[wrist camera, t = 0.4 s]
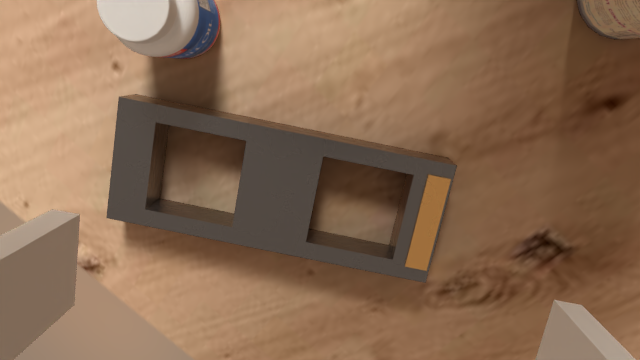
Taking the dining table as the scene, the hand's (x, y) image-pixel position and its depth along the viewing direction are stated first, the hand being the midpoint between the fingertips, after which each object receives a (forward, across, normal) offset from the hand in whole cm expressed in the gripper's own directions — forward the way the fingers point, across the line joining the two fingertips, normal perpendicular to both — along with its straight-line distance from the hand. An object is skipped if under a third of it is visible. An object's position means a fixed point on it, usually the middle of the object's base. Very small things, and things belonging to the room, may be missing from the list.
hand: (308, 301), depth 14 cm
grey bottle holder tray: (+25, -3, -3) cm, 25 cm away
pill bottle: (+25, -12, +7) cm, 29 cm away
